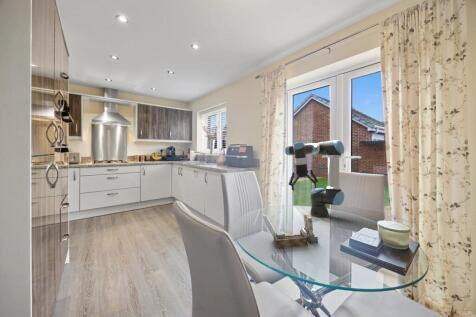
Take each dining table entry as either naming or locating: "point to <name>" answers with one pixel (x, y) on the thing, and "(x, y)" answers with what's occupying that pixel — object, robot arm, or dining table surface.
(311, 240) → the stand
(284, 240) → the rack
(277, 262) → the dining table surface
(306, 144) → the robot arm
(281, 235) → the offcut upper
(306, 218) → the beige flat slab
